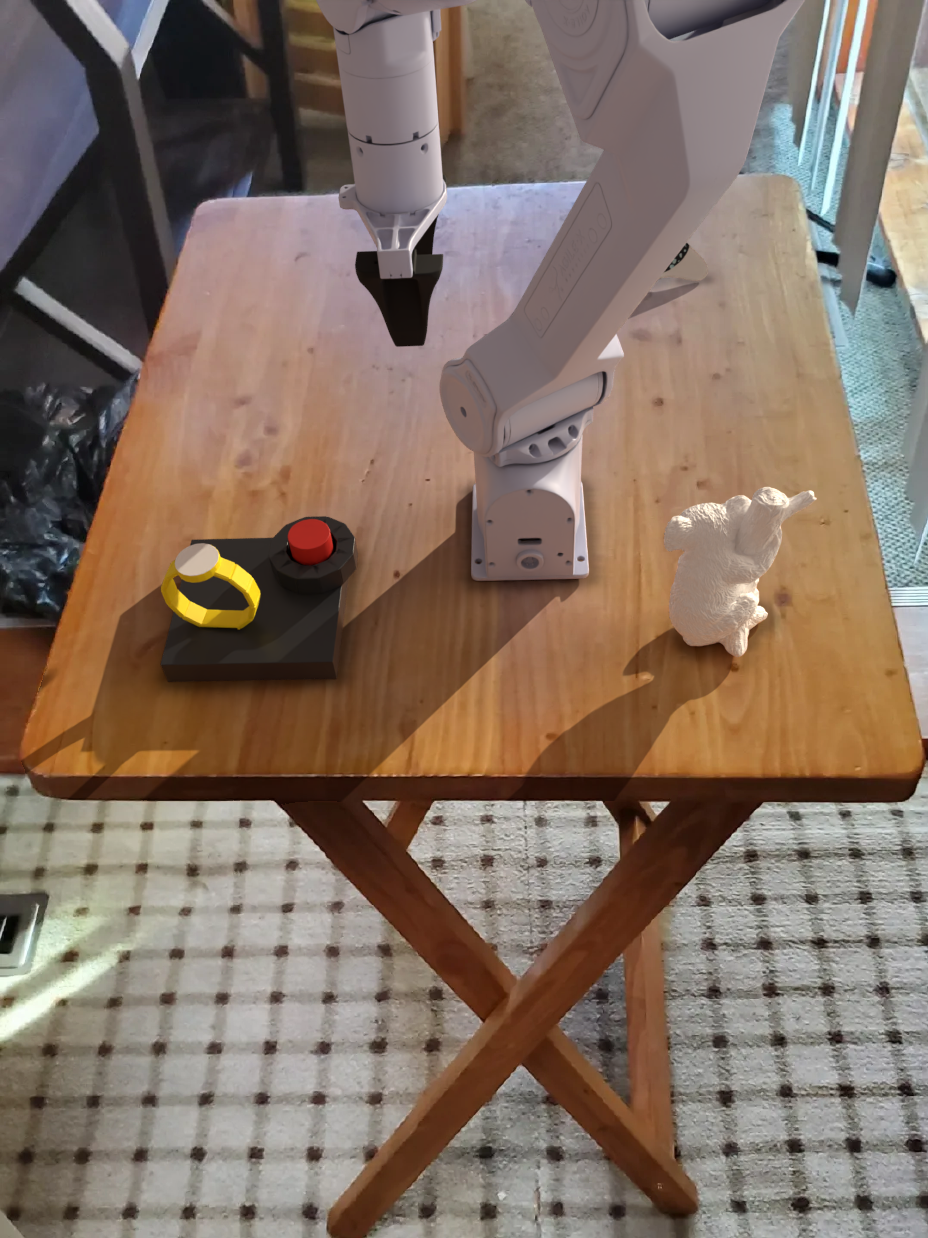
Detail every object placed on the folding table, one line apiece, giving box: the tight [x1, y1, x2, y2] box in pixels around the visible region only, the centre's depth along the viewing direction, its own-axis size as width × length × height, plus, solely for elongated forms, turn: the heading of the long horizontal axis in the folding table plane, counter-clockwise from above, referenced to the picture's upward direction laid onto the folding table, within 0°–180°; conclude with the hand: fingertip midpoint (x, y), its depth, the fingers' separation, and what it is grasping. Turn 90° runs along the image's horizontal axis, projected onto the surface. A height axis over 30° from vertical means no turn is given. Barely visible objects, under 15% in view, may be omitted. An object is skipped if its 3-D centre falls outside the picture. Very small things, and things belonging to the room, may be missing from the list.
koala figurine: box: [663, 486, 817, 658], centre depth 65 cm, size 8×7×12 cm
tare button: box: [288, 519, 333, 565], centre depth 71 cm, size 3×3×2 cm
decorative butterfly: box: [658, 242, 709, 282], centre depth 96 cm, size 10×6×10 cm
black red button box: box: [160, 515, 359, 683], centre depth 71 cm, size 11×12×4 cm
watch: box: [160, 543, 261, 630], centre depth 68 cm, size 6×3×6 cm, turn 81°
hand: (412, 311), depth 77 cm, fingers open, 7 cm apart
